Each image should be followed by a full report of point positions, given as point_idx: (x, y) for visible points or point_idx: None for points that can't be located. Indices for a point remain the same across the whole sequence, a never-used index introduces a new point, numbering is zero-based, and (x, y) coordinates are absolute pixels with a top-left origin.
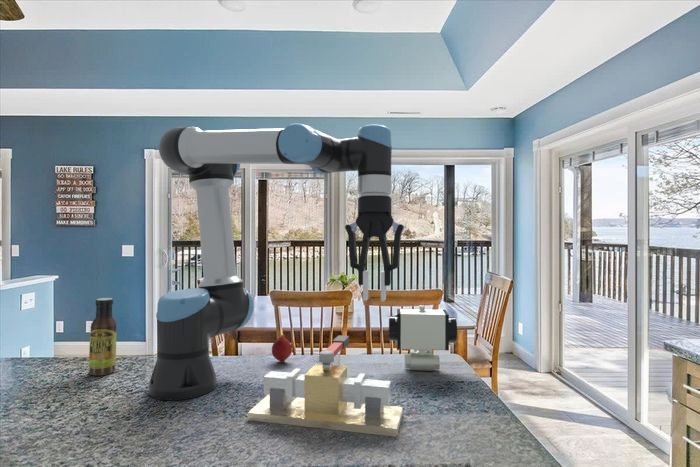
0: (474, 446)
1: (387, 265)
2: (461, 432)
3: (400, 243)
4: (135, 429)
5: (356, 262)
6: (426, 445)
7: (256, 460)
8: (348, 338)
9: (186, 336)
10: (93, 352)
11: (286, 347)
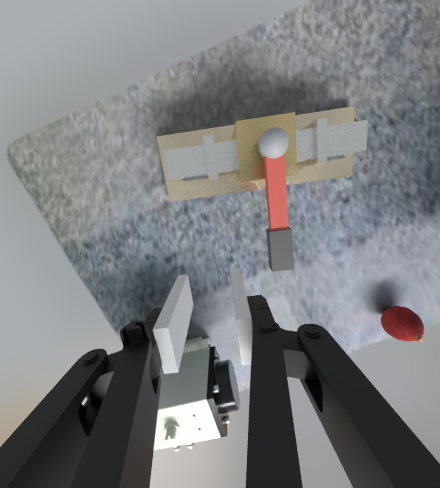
0: (76, 149)
1: (127, 356)
2: (97, 178)
3: None
4: None
5: (308, 382)
6: (123, 131)
7: (289, 12)
8: (271, 265)
9: None
10: None
11: (394, 320)
